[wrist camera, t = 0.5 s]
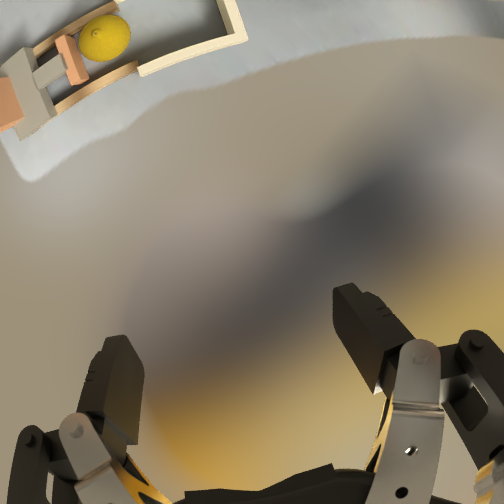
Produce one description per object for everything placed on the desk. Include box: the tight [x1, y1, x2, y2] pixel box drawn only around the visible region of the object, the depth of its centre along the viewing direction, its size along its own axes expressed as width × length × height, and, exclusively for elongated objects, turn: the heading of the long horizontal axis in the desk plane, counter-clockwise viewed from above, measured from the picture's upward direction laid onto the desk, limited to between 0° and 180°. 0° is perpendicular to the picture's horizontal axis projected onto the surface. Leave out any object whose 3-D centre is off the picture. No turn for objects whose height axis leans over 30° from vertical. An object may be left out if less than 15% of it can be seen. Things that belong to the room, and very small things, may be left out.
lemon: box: [79, 15, 131, 62], centre depth 19 cm, size 6×6×8 cm
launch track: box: [32, 1, 140, 134], centre depth 21 cm, size 16×10×2 cm, turn 106°
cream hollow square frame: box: [114, 0, 248, 77], centre depth 21 cm, size 12×12×4 cm
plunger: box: [0, 35, 90, 141], centre depth 15 cm, size 10×10×16 cm
